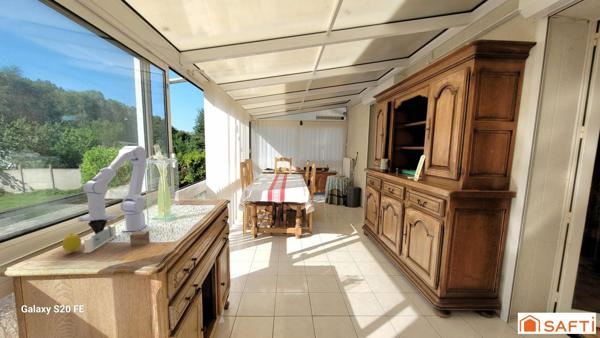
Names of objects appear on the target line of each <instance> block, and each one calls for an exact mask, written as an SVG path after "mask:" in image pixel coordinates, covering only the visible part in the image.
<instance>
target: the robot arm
mask: <svg viewBox="0 0 600 338" xmlns="http://www.w3.org/2000/svg"><path fill="white" fill-rule="evenodd" d="M147 154H148V152H147V150H146V149H145V147H143V146H142V145H138V146H136V145H135V146H134V145H133V146H130V145H129V146H128V145H125V146H123V147H122V148H121V149H120V150H119V151H118V155H117V156H116V157H115V158H114V159H113V160H112V161H111V163H110V164H109V165H108V167H102V168H100V169H99V172H98V173H97V174H96V175H95V176H94V177H92V180H88V181H87V182H85V184H84V186H83V187H82V190H83V192H84V193H85V194H86V197H87V207H88V215H85V216H83V215H82V216H79V217H78V218H77V222H78V223H81V222H88V224H87V225H88V226H89V227H90V228H91V229H92V231H93V232H94V235H95V234H97V233H99V232H101V231H102V230H104V229H105V227H106V225H107V223H108V221H116V220H117V219H118V215H117V214H107V213H106V212H107V211H106V200H105V199H106V198H105V192H106V191H107V189H108V185H109V183H110V182H111V181H112V180H113V179H114V178H115V177H116V175H117V171H118V170H119V169H120V168H121V167H122V166H123V165H124V164H125V163H126V162H127V161H129V162H131V164H133V167H132V173H131V179H130V183H129V188H128V192H127V194H126V195H125V196H124V197H123V200H122V202H121V203H120V210H121V211H123V214H124V220H125V228H124V229H123V230H121V231H122V232H137V231H142V229H143V228H146V226H148V224H147V223H146V217H145V215H146V214H145V212H144V209H145V208H146V207H145V206H146V205H145V197H144V196H142V191H143V185H144V178H145V172H146V168H147Z"/></svg>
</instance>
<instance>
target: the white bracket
mask: <svg viewBox="0 0 600 338" xmlns="http://www.w3.org/2000/svg"><path fill="white" fill-rule="evenodd" d="M109 226H110V227H111V237H109V238H108V239H106V240H104V241H103V242H101V243H100V244H98V245H96V246H95V247H94V245H93V238H91V237H87V238H85V239H84V240H83V244H84V251H83V253H84V254H89V253H92V252H93V251H95V250H97V249H98V248H100V247H102V246H103V245H104V244H107V243H108V242H109V241H111V240H112V239H114V238H115V237H117V232H116V231H117V230H116V225H113V224H111V225H109Z"/></svg>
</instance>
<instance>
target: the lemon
mask: <svg viewBox="0 0 600 338" xmlns="http://www.w3.org/2000/svg"><path fill="white" fill-rule="evenodd" d="M61 245H62V249H63V250H64V251H66V252H68V253H69V252H70V253H75V252H76V251H77V250H78V249H80V247H81V246H82V240H81V237H80V235H78V234H74V233H70V234H68V235H66V236H65V237H64V238H63V239H62V243H61Z"/></svg>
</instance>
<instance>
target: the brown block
mask: <svg viewBox="0 0 600 338" xmlns="http://www.w3.org/2000/svg"><path fill="white" fill-rule="evenodd" d="M149 242H150V230H139V231H132V232H131V234H129V243H130V246H133V247H134V246H143V245H144V246H145V245H147V244H148V243H149Z"/></svg>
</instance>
